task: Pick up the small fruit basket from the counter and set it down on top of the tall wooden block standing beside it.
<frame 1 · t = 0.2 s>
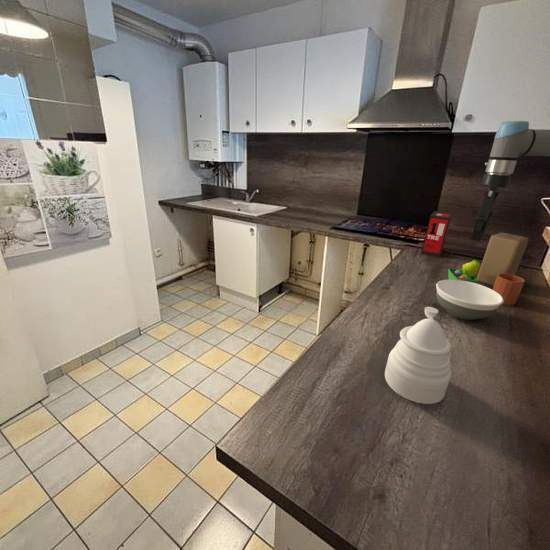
hand: (477, 236, 104), 22 cm above the worktop, tool pointing down, fingers open, 13 cm apart
fruit basket: (460, 286, 117), on the worktop
wooden block: (493, 282, 122), on the worktop
honey pot: (413, 382, 67), on the worktop
terracotta plant pot: (502, 299, 107), on the worktop
bowl: (460, 313, 97), on the worktop
cleaning product box: (432, 251, 158), on the worktop
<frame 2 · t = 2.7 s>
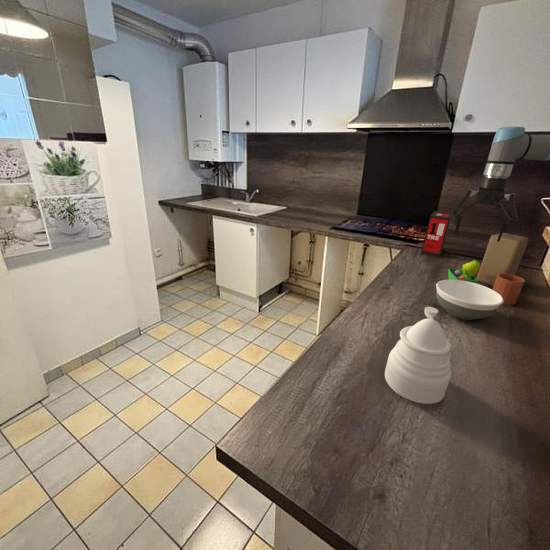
hand: (476, 237, 108), 21 cm above the worktop, tool pointing down, fingers open, 13 cm apart
nothing on the worktop moved.
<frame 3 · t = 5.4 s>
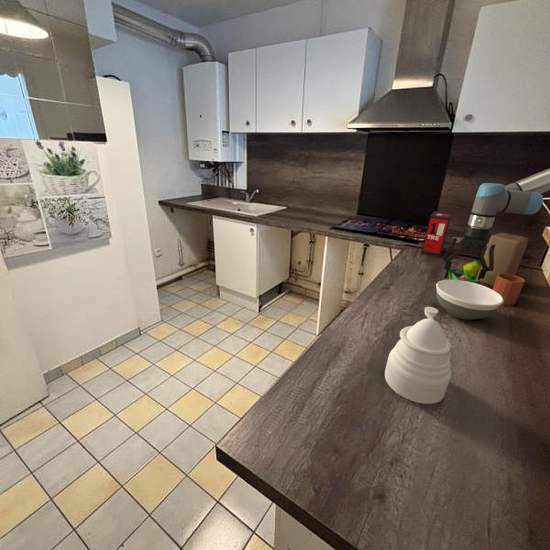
hand: (460, 281, 117), 2 cm above the worktop, tool pointing down, fingers closed on fruit basket, 10 cm apart
fruit basket: (461, 286, 117), on the worktop, touching gripper
everything else where it was.
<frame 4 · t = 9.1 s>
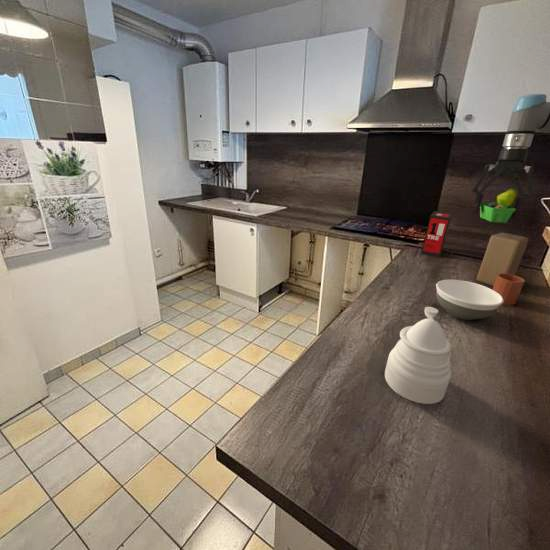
hand: (494, 214, 107), 29 cm above the worktop, tool pointing down, fingers closed on fruit basket, 10 cm apart
fruit basket: (494, 220, 107), point 27 cm above the worktop, touching gripper
everything else where it was.
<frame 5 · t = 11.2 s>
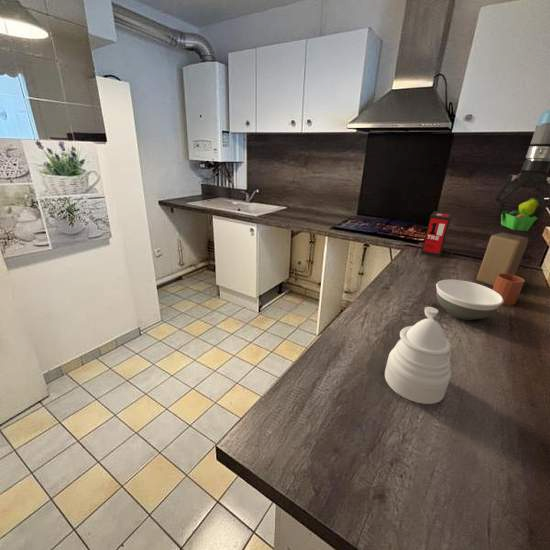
hand: (515, 222, 111), 25 cm above the worktop, tool pointing down, fingers closed on fruit basket, 10 cm apart
fruit basket: (515, 228, 112), point 23 cm above the worktop, touching gripper
everything else where it was.
when the fingers open (22 cm above the worktop, at t = 12.8 s): fruit basket stays where it is, resting on wooden block.
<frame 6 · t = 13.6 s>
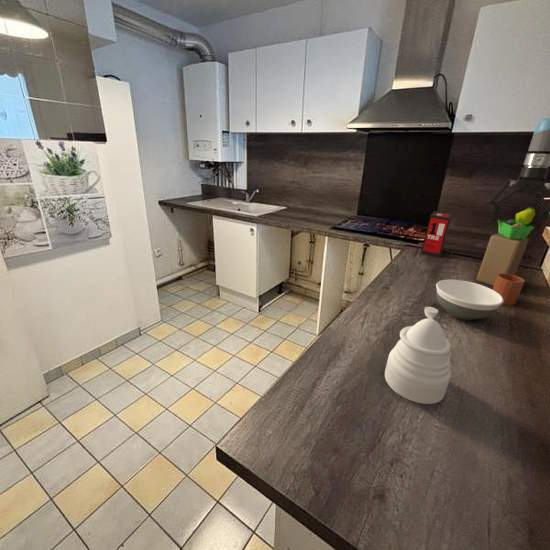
hand: (514, 225, 112), 24 cm above the worktop, tool pointing down, fingers open, 13 cm apart
fruit basket: (512, 237, 113), point 20 cm above the worktop, touching wooden block
wooden block: (493, 282, 122), on the worktop, touching fruit basket
everything else where it was.
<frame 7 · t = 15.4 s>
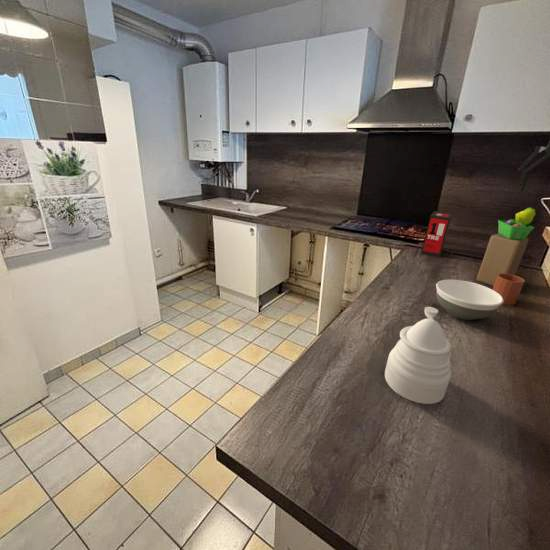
hand: (543, 192, 112), 36 cm above the worktop, tool pointing down, fingers open, 13 cm apart
nothing on the worktop moved.
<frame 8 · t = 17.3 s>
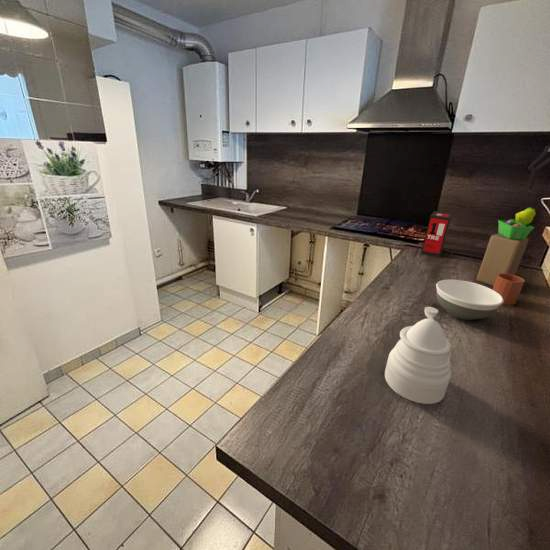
nothing on the worktop moved.
at the end: fruit basket inside the target area on the wooden block (0.7 cm from its centre), point 20.0 cm above the wooden block's base; fruit basket tilted 0°; wooden block tilted 0° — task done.
